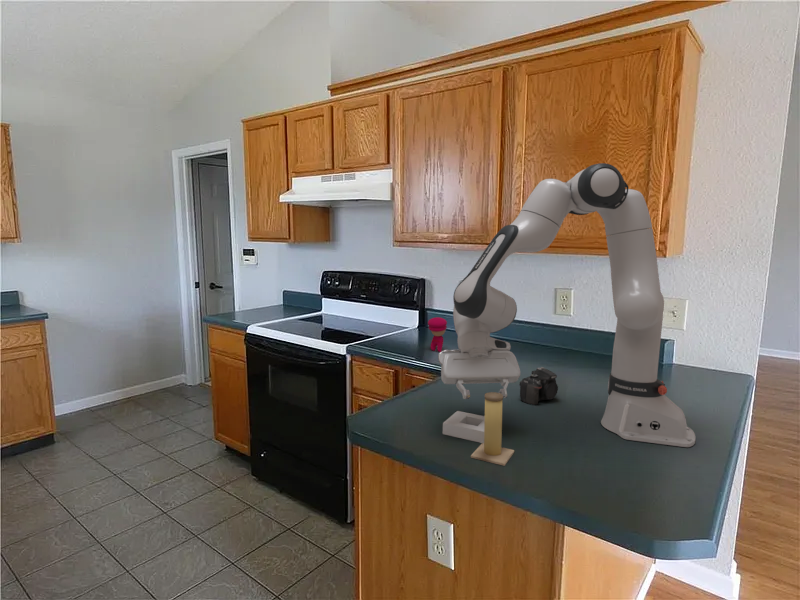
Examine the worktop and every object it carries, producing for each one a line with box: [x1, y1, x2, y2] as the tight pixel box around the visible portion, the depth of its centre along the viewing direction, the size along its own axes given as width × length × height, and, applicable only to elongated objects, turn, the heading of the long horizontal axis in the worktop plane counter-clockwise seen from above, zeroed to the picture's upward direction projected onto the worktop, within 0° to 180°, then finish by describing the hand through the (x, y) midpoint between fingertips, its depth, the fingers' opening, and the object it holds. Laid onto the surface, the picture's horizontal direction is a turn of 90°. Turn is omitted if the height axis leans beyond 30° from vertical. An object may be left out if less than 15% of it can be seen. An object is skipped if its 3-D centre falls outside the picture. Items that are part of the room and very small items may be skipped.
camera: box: [519, 366, 559, 406], centre depth 153 cm, size 13×10×10 cm
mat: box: [470, 443, 515, 467], centre depth 114 cm, size 8×8×1 cm
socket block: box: [442, 410, 485, 444], centre depth 127 cm, size 12×10×3 cm
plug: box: [484, 391, 504, 455], centre depth 114 cm, size 4×4×14 cm
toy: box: [427, 316, 448, 353], centre depth 213 cm, size 8×8×15 cm
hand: (485, 397), depth 121 cm, fingers open, 8 cm apart
